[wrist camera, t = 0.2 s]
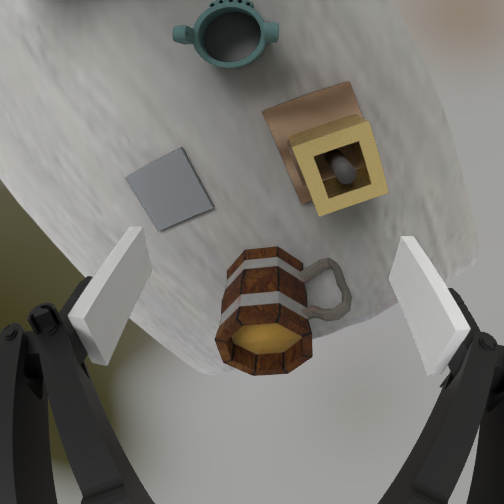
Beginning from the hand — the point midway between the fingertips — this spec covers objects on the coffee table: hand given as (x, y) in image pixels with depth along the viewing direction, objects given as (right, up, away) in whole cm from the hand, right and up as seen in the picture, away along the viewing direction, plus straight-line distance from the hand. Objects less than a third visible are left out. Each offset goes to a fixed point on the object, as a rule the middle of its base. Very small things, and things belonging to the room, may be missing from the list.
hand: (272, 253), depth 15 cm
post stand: (+9, +15, +24) cm, 29 cm away
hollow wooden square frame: (+8, +11, +18) cm, 22 cm away
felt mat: (-13, +9, +29) cm, 33 cm away
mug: (+4, -3, +36) cm, 36 cm away
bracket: (-3, +27, +16) cm, 32 cm away
